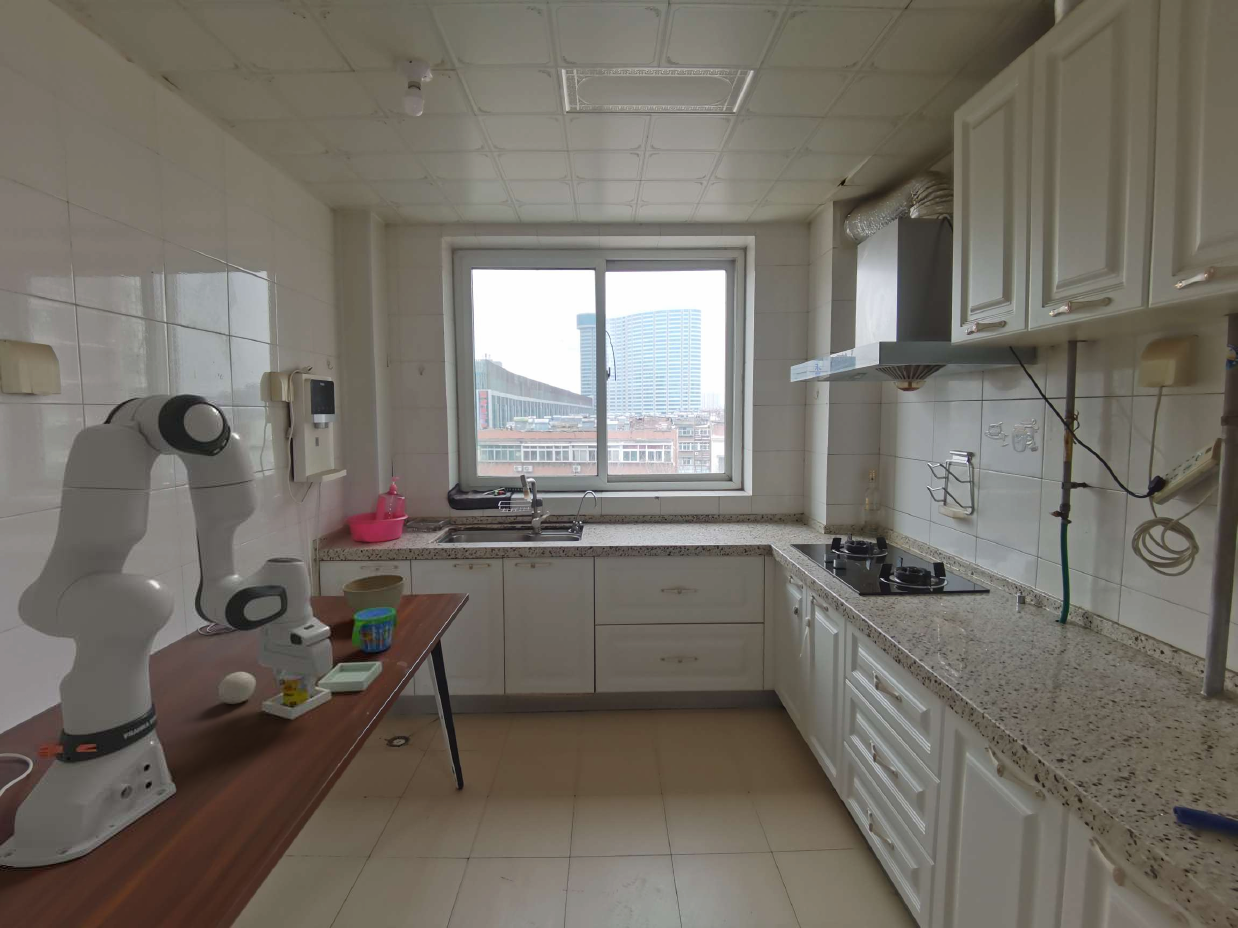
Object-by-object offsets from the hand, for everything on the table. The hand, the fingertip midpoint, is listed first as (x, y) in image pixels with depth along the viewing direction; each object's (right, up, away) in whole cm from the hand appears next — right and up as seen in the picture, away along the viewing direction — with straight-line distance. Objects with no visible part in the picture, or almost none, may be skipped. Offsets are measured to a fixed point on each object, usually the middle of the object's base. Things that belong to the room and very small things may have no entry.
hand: (296, 688), depth 127 cm
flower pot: (-6, 0, +55) cm, 55 cm away
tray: (+7, -3, +11) cm, 13 cm away
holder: (0, -4, 0) cm, 4 cm away
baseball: (-15, -4, +3) cm, 16 cm away
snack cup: (+5, -1, +31) cm, 31 cm away
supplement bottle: (0, -4, 0) cm, 4 cm away
